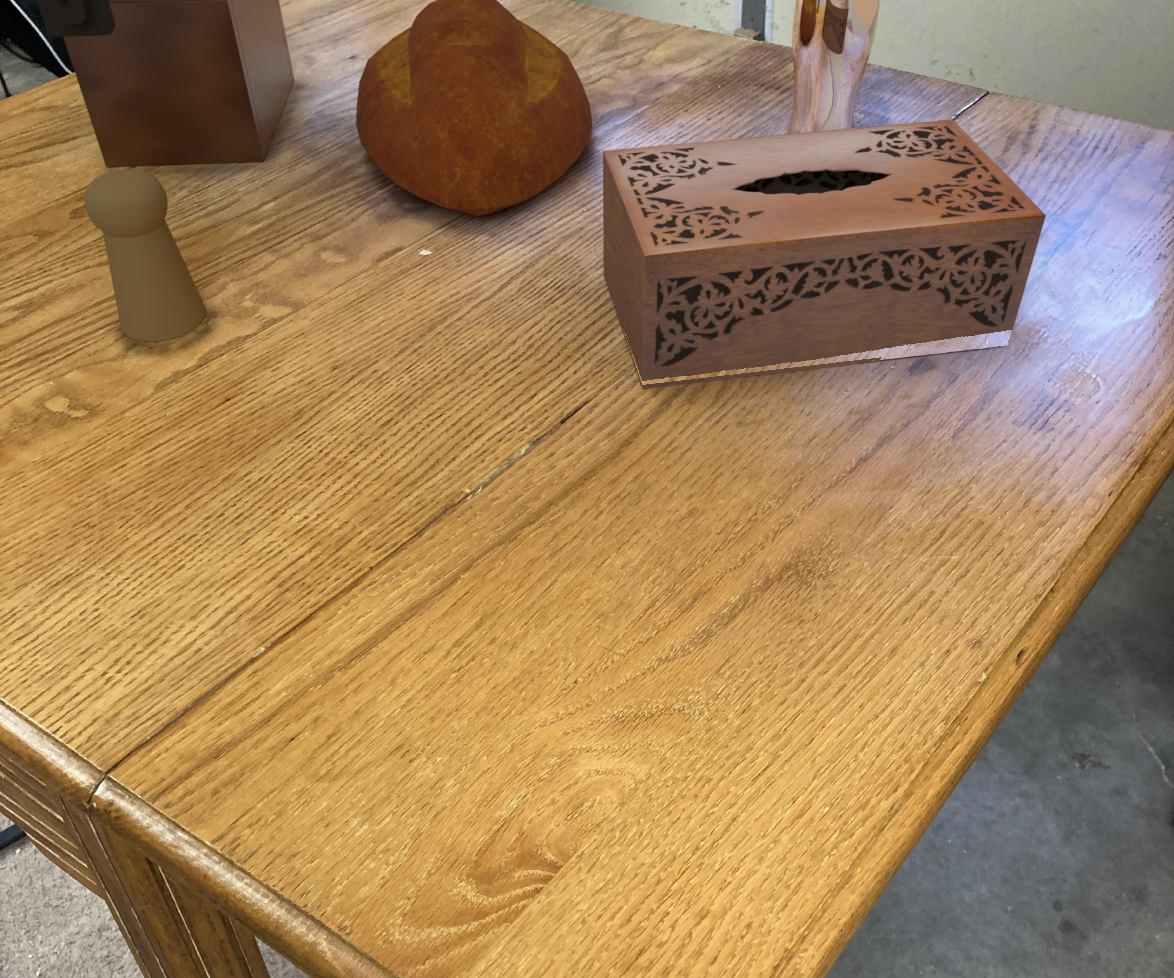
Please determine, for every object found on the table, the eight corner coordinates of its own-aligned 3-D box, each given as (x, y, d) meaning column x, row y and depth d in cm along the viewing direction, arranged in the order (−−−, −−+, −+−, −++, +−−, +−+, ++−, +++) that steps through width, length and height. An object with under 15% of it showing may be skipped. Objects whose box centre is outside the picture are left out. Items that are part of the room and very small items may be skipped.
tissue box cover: (926, 242, 88) (952, 119, 81) (1008, 346, 77) (1045, 215, 70) (603, 275, 85) (602, 151, 78) (642, 388, 74) (645, 255, 67)
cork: (211, 330, 80) (170, 189, 73) (124, 349, 79) (73, 207, 71) (200, 288, 84) (161, 151, 77) (117, 305, 83) (68, 167, 75)
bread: (338, 238, 90) (310, 87, 81) (379, 75, 114) (360, -54, 105) (600, 229, 90) (599, 77, 82) (585, 69, 114) (583, -61, 106)
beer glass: (766, 132, 103) (783, -41, 92) (833, 120, 104) (857, -51, 94) (803, 164, 98) (826, -15, 88) (873, 150, 99) (902, -26, 89)
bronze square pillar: (105, 167, 100) (45, -15, 89) (156, 84, 113) (109, -83, 103) (263, 162, 100) (222, -21, 89) (294, 79, 113) (262, -88, 103)
